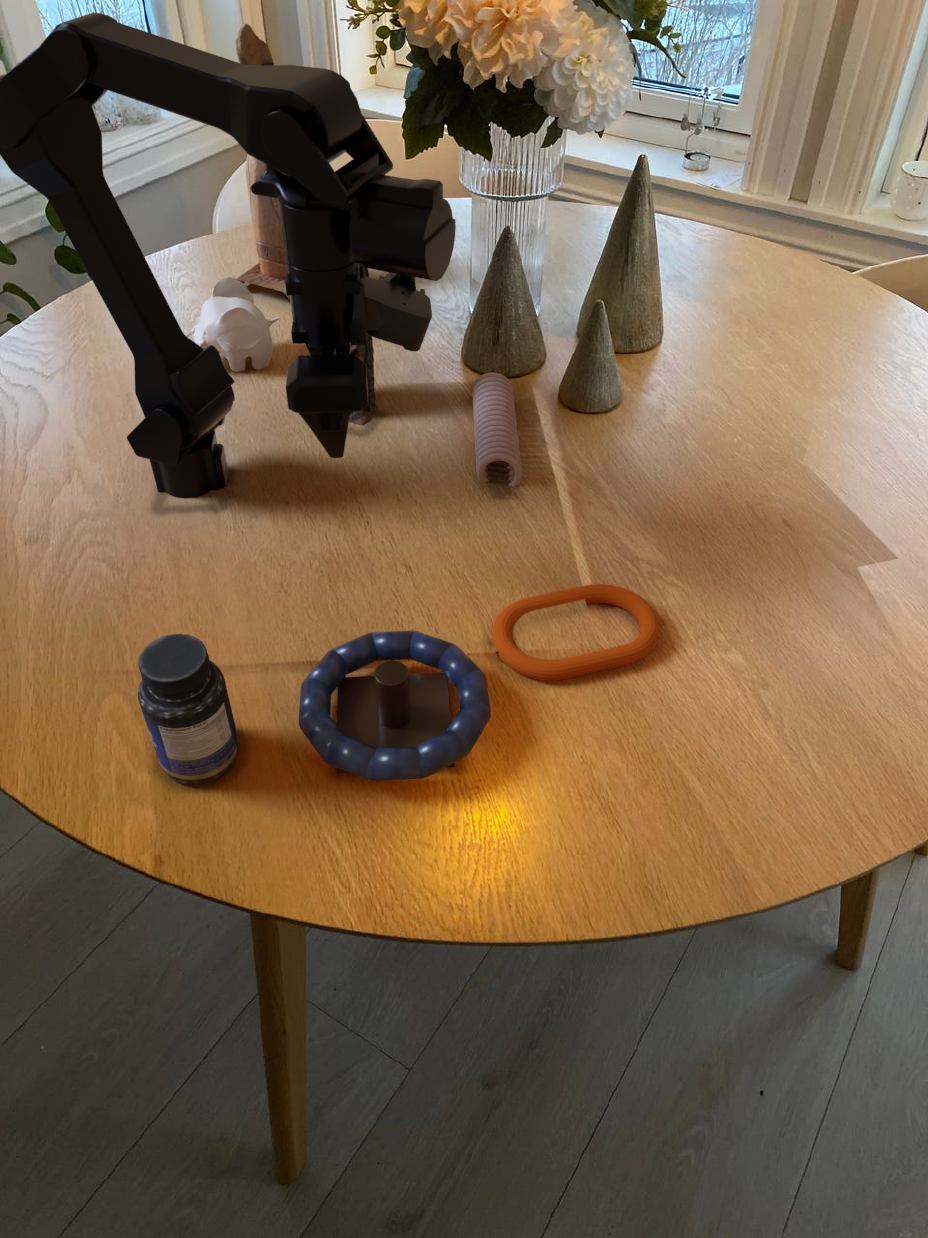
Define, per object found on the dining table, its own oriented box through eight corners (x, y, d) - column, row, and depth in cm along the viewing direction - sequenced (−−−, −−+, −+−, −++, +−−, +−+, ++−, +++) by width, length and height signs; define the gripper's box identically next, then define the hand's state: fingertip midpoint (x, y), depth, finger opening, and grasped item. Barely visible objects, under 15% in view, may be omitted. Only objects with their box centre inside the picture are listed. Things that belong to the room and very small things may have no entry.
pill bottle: (166, 727, 76) (135, 627, 68) (244, 723, 76) (221, 623, 69) (154, 790, 72) (119, 691, 64) (237, 785, 72) (212, 686, 64)
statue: (308, 422, 109) (287, 247, 95) (337, 392, 113) (322, 222, 100) (362, 435, 107) (349, 259, 93) (389, 404, 112) (381, 232, 98)
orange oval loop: (476, 603, 84) (632, 571, 88) (476, 617, 86) (629, 585, 89) (513, 681, 78) (680, 643, 81) (512, 695, 79) (677, 657, 82)
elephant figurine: (184, 349, 121) (169, 281, 114) (279, 337, 123) (270, 269, 117) (191, 387, 114) (176, 316, 108) (291, 373, 117) (282, 303, 110)
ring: (296, 792, 70) (293, 772, 68) (305, 649, 81) (302, 629, 79) (497, 781, 71) (499, 761, 69) (479, 642, 82) (480, 621, 80)
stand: (336, 774, 73) (329, 721, 69) (338, 686, 79) (332, 633, 75) (454, 767, 73) (455, 714, 69) (447, 681, 80) (447, 628, 76)
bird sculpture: (342, 277, 136) (322, 17, 114) (299, 311, 129) (269, 39, 107) (275, 263, 140) (243, 7, 118) (229, 295, 132) (185, 27, 110)
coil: (525, 460, 96) (515, 370, 109) (479, 456, 95) (474, 366, 108) (518, 498, 99) (509, 406, 112) (474, 494, 99) (469, 402, 112)
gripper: (430, 307, 69) (433, 485, 80) (419, 209, 82) (422, 373, 93) (274, 311, 68) (298, 490, 79) (289, 211, 82) (307, 376, 92)
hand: (337, 427), depth 86 cm, fingers open, 9 cm apart
